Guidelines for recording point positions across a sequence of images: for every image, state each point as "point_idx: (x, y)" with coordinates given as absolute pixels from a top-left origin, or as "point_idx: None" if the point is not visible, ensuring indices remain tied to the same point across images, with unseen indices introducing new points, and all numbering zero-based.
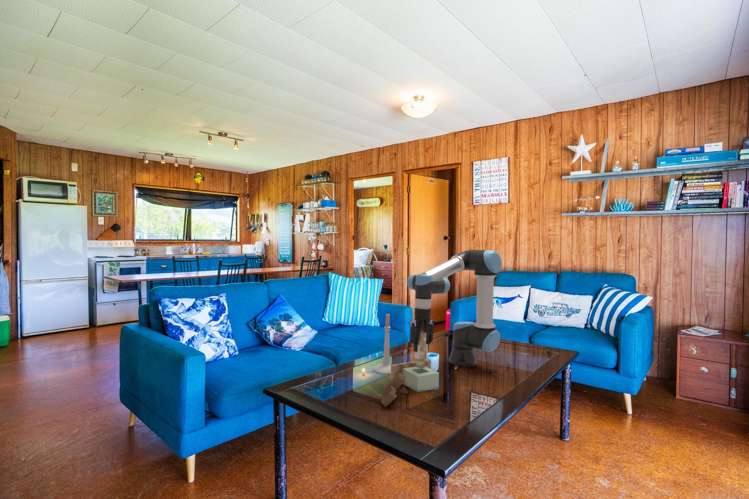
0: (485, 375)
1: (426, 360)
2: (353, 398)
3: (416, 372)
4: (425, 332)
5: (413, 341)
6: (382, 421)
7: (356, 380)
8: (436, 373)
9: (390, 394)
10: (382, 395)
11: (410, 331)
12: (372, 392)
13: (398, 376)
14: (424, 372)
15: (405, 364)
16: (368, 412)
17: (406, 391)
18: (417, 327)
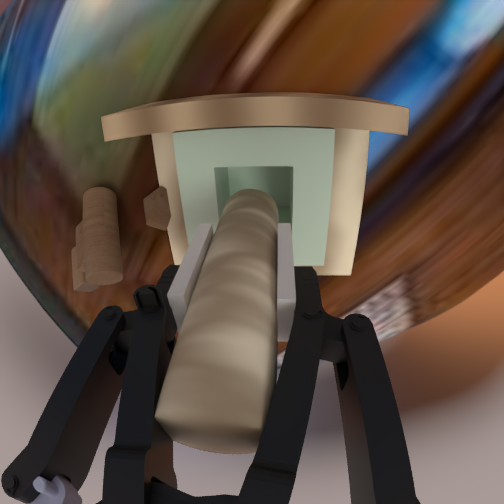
0: None
1: (376, 126)
2: (27, 174)
3: (215, 217)
4: (254, 448)
5: (115, 358)
6: (75, 301)
7: (65, 25)
8: (307, 264)
9: (78, 290)
10: (76, 230)
11: (52, 405)
12: (74, 146)
13: (89, 282)
14: (292, 185)
15: (189, 129)
16: (52, 259)
17: (159, 226)
18: (133, 474)
